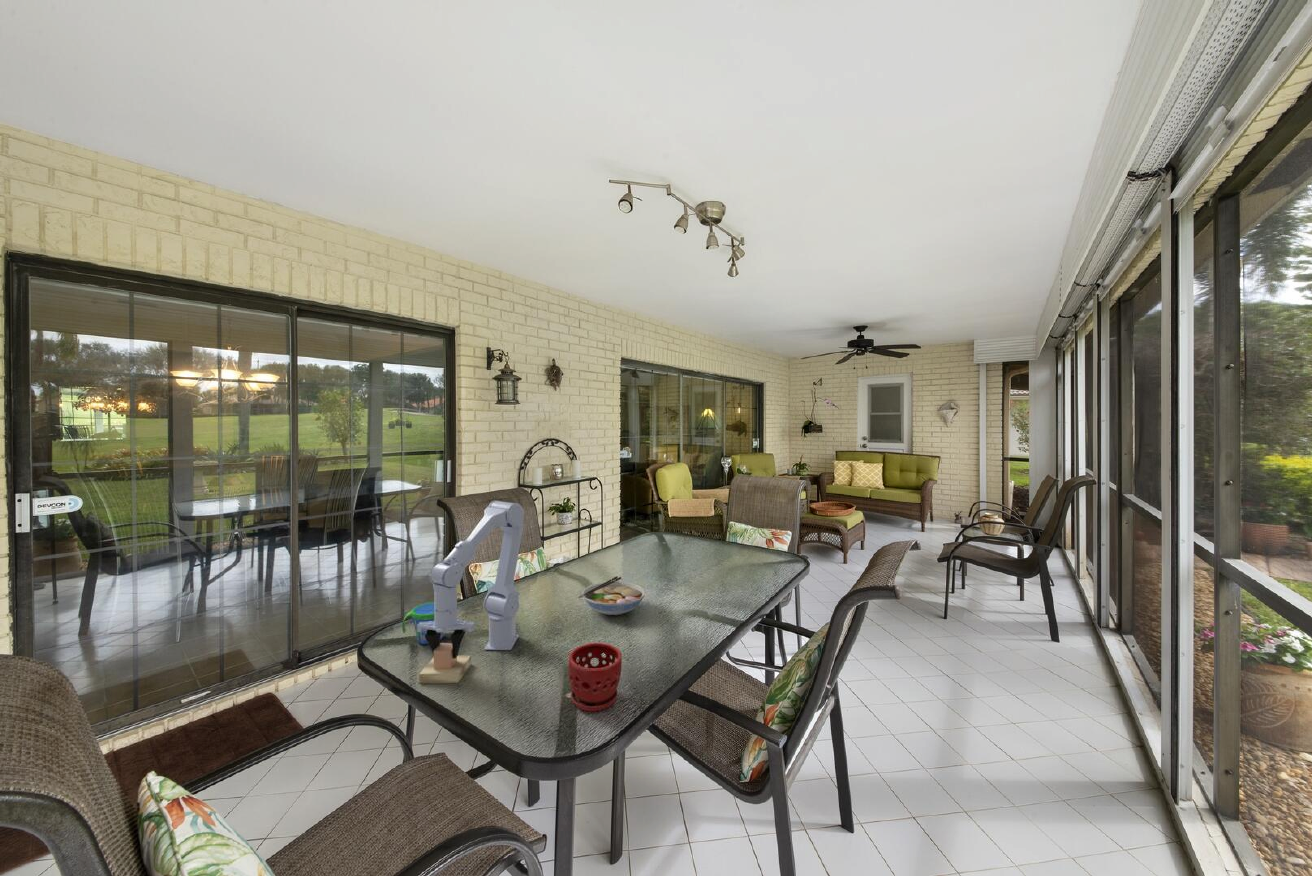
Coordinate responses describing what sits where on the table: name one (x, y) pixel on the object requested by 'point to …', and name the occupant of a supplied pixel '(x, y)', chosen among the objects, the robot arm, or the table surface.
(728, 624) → the table surface
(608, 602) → the ramen bowl
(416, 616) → the snack cup
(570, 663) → the plant pot
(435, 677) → the base
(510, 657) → the table surface
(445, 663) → the block
